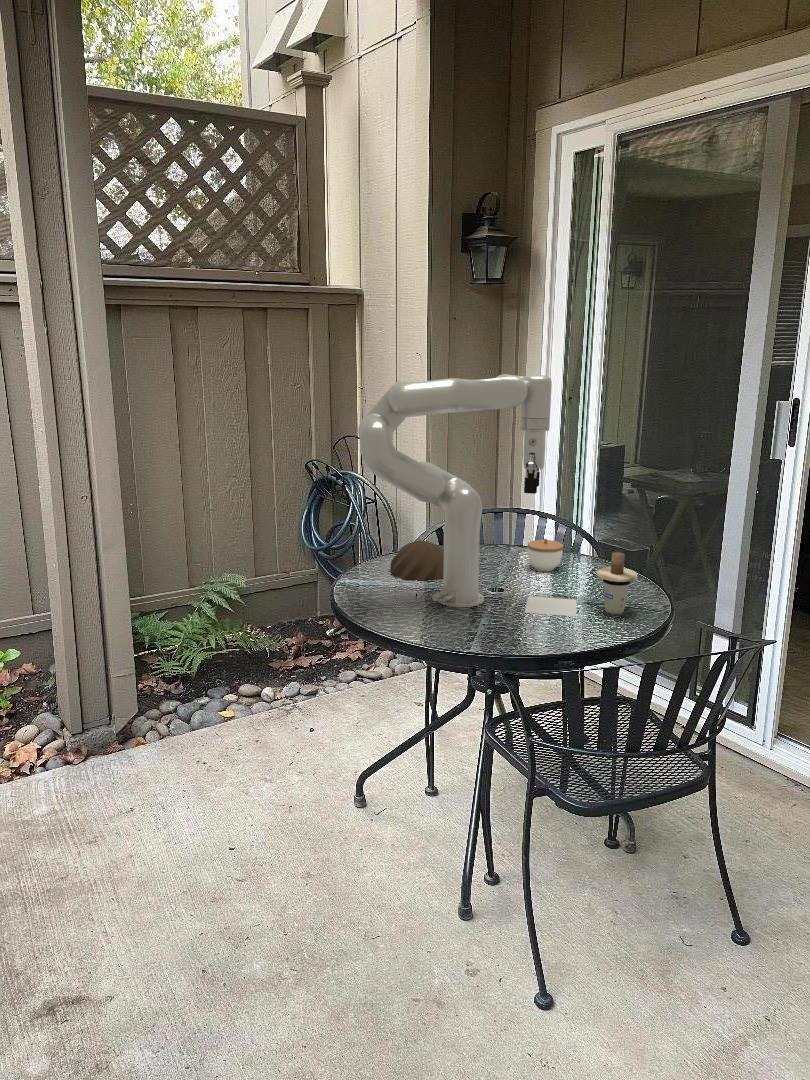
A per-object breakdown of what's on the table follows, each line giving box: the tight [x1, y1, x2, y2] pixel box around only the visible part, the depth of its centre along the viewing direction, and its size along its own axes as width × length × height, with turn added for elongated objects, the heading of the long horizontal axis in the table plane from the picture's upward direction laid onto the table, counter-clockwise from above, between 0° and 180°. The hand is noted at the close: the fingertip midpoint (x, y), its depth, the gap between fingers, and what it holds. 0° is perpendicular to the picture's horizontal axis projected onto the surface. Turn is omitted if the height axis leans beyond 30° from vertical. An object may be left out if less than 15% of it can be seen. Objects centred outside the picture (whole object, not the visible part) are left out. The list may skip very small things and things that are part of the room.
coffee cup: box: [602, 579, 631, 615], centre depth 201 cm, size 7×7×10 cm
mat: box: [524, 596, 578, 617], centre depth 205 cm, size 13×13×1 cm
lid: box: [596, 551, 638, 582], centre depth 199 cm, size 10×10×6 cm
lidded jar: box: [527, 538, 564, 572], centre depth 239 cm, size 11×11×9 cm
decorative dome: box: [390, 539, 444, 582], centre depth 235 cm, size 19×20×10 cm
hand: (531, 489), depth 205 cm, fingers open, 9 cm apart
